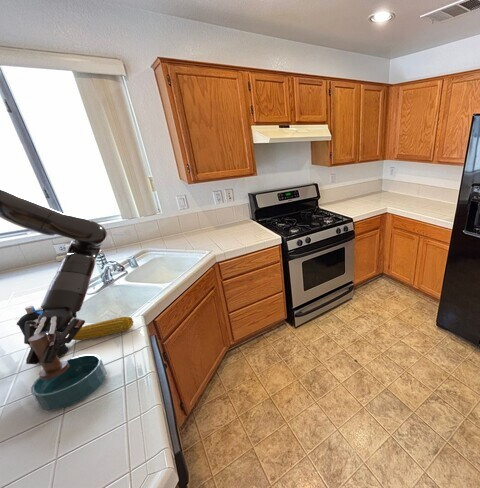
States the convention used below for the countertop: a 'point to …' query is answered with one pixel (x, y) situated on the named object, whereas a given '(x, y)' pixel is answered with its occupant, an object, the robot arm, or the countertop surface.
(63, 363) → the brown wooden peg
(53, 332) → the robot arm
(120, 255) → the countertop surface
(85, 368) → the bowl
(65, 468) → the countertop surface
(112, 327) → the food
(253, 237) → the countertop surface
